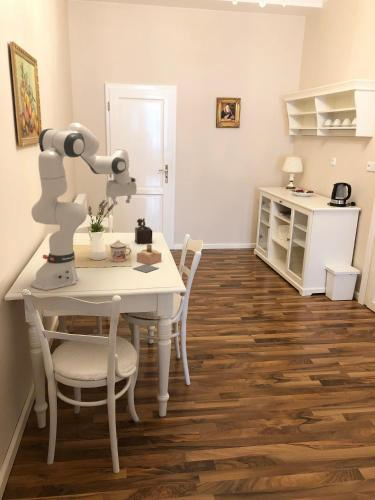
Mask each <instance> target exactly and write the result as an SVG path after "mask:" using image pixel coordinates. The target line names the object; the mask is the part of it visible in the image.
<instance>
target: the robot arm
mask: <svg viewBox="0 0 375 500" xmlns="http://www.w3.org/2000/svg"><path fill="white" fill-rule="evenodd" d="M38 145H39V146H38V147H39V150H40V153H39V155H38V173H39V180H40V185H41V187H40V188H41V195H40V198H39V199H38V201H37V202H35V203H34V204H33V206H32V208H31V213H30V214H31V217H32V219H33V221H35V222H36V223H39V224H41V225H42V224H43V225H51V226H52V225H55V226H59V229H58V230H57V231H55V232H53V233H52V234H51V235H50V236H49V238H48V245H49V248H48V249H49V253H48V255H47V254H43V255H42V259H44V260H46V262H45V263H44V264H42V266H41V267H40V268H39V269H37V271H36V273H35V280H32V281H31V282H30V285H31V286H32V287H33V288H35V289H38V290H40V291H50V290H54V289H60V288H63V287H68V286H72V285H76V284H77V282H78V280H79V276H78V273H77V270H76V264H75V256H76V255H75V251H74V236H75V233H76V230H77V229H78V228H79V227H80V226H81V225H83V223H84V222H85V221H86V219H87V216H88V215H87V214H88V212H87V210H86V207H85V206H84V205H83V204H81V203H79V202H78V203H77V202H71V201H67V202H66V201H59V200H58V198H60V197H62V196H63V195H65V193H67V192H68V191H67V190H68V184H67V176H66V170H65V165H64V162H63V161H64V157H67V158H79V157H80V158H81V159H82V160H83V161H84V162H85V163H86V164H87V165H88V166H89V168H90V171H91V172H92V173H93V174H95V175H112V176H113V178H112V179H110V180H109V179H108V181H106V189H105V196H106V197H107V198H111V200H112V202H113V203H112V204H113V205H114V206H116V205H118V201H116V198H117V197H123V196H124V197H127V198H126V200H125V203H126V204H130V203H131V199H132V196H133V195H134V196H135V195H136V194H137V192H138V191H137V184H136V182H137V179H136V178H135V177H132V176H131V175H130V172H129V168H130V160H129V159H130V158H129V152H128V151H127V150H124V149H114V150H113V154H111V155H98V154H97V155H96V153H97V152H98V150H99V148H100V141H99V139H98V137H97V136H96V135H95V134H94V133H93V132H92V131H91V130H90V129H89V128H88V127H86V126H84V124H81V123H79V122H72V123H71V122H70V124H68V125H67V126H66V129H65V130H63V129H54V128H45V129H42V130H41V132H40V133H39V136H38Z"/></svg>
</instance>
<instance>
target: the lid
mask: <svg viewBox="0 0 375 500" xmlns="http://www.w3.org/2000/svg"><path fill="white" fill-rule="evenodd" d="M139 252H140V254H142V255H146V256H152V255H156V254H158V252H159V251H158V250H156V249H152V244H146V249H142V250H141V251H139Z"/></svg>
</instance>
